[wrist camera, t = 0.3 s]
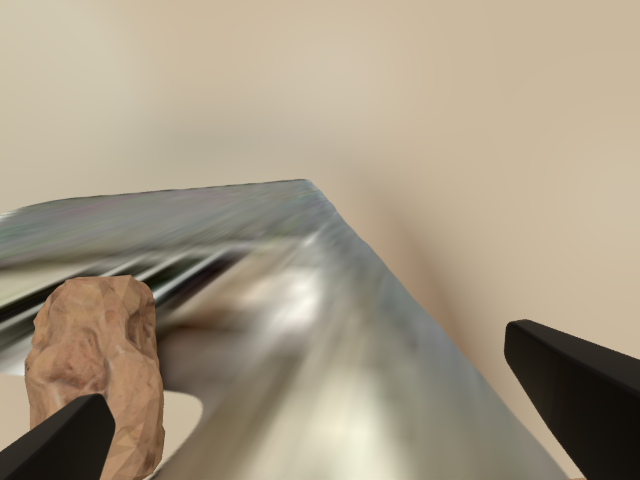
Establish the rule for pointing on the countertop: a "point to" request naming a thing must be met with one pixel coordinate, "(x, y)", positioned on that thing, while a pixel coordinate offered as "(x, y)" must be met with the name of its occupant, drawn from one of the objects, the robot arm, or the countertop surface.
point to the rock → (102, 365)
